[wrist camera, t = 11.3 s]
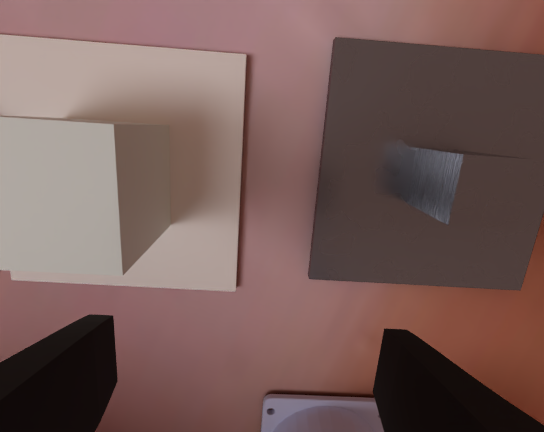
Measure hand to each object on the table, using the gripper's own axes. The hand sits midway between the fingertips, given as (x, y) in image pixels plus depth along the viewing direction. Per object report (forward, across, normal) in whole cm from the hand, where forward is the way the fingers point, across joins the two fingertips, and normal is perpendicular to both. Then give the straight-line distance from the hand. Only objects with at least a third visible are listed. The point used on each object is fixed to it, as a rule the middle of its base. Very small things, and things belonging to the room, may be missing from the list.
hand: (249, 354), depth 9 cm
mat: (+9, +7, -3) cm, 12 cm away
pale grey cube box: (+9, +7, -3) cm, 12 cm away
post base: (+9, -9, -4) cm, 14 cm away
